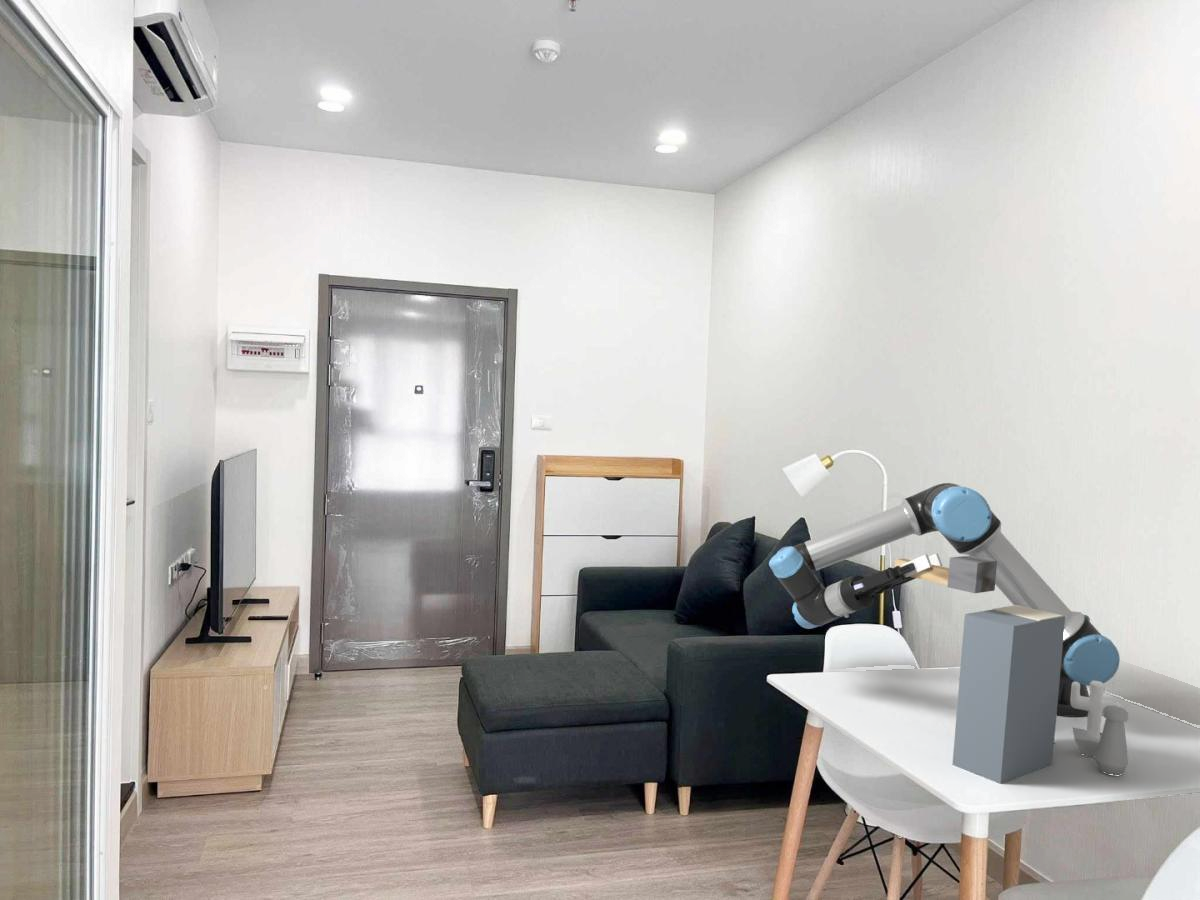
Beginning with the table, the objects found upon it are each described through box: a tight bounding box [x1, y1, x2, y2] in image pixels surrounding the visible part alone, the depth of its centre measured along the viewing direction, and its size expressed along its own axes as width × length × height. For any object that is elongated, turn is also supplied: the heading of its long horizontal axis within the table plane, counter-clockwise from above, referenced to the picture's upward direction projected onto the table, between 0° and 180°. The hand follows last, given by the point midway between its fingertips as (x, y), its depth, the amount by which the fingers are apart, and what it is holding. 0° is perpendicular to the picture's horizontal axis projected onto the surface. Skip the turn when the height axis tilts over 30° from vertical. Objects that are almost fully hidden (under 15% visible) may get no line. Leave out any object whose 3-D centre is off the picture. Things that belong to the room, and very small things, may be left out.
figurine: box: [1070, 681, 1122, 757], centre depth 190 cm, size 7×9×15 cm
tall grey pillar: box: [952, 605, 1065, 785], centre depth 180 cm, size 19×10×30 cm, turn 126°
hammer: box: [894, 555, 997, 594], centre depth 188 cm, size 7×20×6 cm, turn 37°
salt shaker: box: [1094, 706, 1129, 776], centre depth 180 cm, size 6×6×13 cm
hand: (933, 560), depth 189 cm, fingers closed on hammer, 3 cm apart
